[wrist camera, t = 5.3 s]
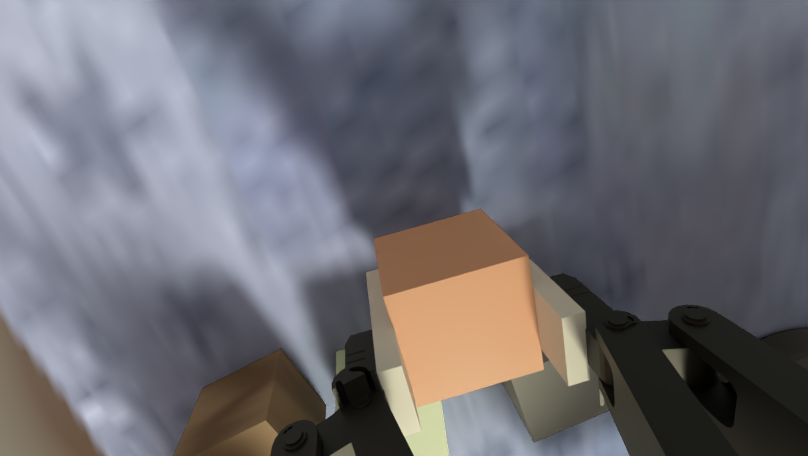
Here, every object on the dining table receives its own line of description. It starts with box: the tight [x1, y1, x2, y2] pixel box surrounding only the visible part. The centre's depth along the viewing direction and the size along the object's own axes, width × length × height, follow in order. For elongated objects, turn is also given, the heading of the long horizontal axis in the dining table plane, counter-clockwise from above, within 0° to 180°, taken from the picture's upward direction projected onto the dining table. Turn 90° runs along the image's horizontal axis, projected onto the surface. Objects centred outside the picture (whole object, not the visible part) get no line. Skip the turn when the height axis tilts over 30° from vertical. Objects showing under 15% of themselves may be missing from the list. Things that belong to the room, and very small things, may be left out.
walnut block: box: [173, 349, 326, 456], centre depth 21 cm, size 5×5×5 cm
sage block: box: [336, 350, 449, 456], centre depth 21 cm, size 5×5×5 cm
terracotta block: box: [374, 209, 544, 407], centre depth 16 cm, size 5×5×5 cm
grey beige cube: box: [502, 350, 609, 442], centre depth 22 cm, size 5×5×5 cm
